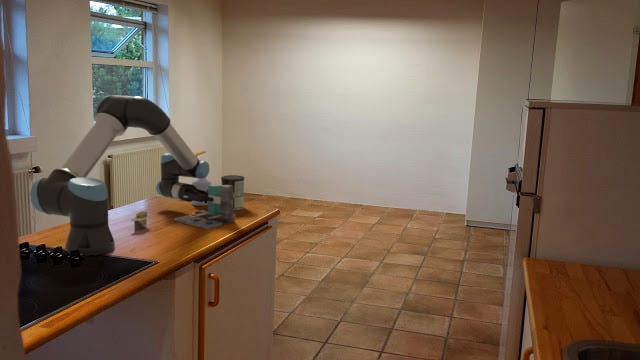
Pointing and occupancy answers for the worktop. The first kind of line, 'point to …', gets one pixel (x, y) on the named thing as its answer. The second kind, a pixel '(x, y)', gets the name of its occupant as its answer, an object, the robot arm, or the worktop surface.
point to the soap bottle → (201, 185)
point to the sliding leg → (213, 207)
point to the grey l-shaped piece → (223, 207)
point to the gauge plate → (198, 222)
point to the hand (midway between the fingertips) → (223, 199)
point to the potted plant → (140, 220)
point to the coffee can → (235, 189)
